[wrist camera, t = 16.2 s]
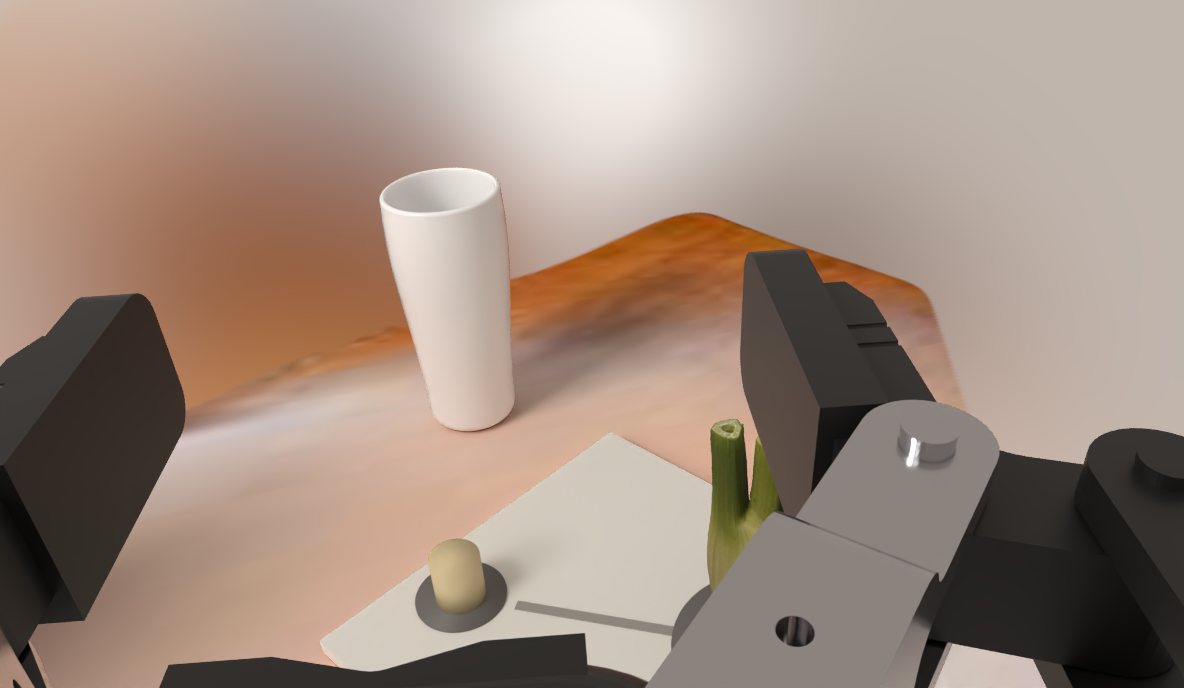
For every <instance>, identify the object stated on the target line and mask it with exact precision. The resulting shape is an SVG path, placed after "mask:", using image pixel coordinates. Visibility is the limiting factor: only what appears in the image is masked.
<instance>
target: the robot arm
mask: <svg viewBox="0 0 1184 688" xmlns="http://www.w3.org/2000/svg"><path fill="white" fill-rule="evenodd" d="M740 362H741V375H742V382H743V388H744V392H745V396H746V399H747V402H748V405H749V408H750V411H751V414H752V417H753V420H754V423H755V426H756V429H757V432H758V435H759V438H760V441H761V444H762V447H763V450H764V453H765V456H766V459H767V462H768V465H769V468H770V471H771V474H772V477H773V480H774V483H775V486H776V489H777V492H778V495H779V498H780V501H781V504H782V507H783V510H784V513H783V512H781V511H775V512H773V513H772V514H770V515H769V516H768V517H767V518H766V519H765V521H764V522H763V523H762V525H761V526H760V527H759V529H758V530H757V531H756V533H755V534H754V536H753V537H752V538H751V540H750V541H749V543H748V544H747V545H746V547H745V548H744V550H743V551H742V552H741V554H740V555H739V557H738V558H737V559H736V561H735V562H734V564H733V565H732V566H731V568H730V569H729V571H728V572H727V573H726V575H725V576H724V578H723V579H722V580H721V582H720V583H719V585H718V586H717V587H716V589H715V590H714V592H713V593H712V594H711V596H710V597H709V599H708V600H707V601H706V603H705V604H704V605H703V607H702V608H701V610H700V611H699V612H698V614H697V615H696V617H695V618H694V619H693V621H692V622H691V624H690V625H689V626H688V628H687V629H686V631H685V632H684V633H683V635H682V636H681V638H680V639H679V640H678V642H677V643H676V645H675V646H674V647H673V649H672V650H671V652H670V653H669V654H668V656H667V657H666V659H665V660H664V661H663V663H662V664H661V666H660V667H659V668H658V670H657V671H656V673H655V674H654V675H653V677H652V678H651V680H650V681H649V682H648V681H646V680H643V679H641V678H639V677H636V676H634V675H631V674H628V673H624V672H620V671H617V670H613V669H610V668H605V667H599V666H593V665H588V663H587V650H586V638H585V633H577V634H564V635H551V636H538V637H525V638H512V639H499V640H486V641H481V642H477V643H474V644H470V645H467V646H464V647H460V648H457V649H453V650H450V651H446V652H443V653H439V654H436V655H433V656H429V657H426V658H422V659H419V660H415V661H412V662H409V663H405V664H402V665H398V666H395V667H391V668H388V669H384V670H380V671H370V672H369V671H359V670H353V669H346V668H340V667H333V666H327V665H320V664H314V663H307V662H301V661H294V660H288V659H281V658H275V657H265V658H252V659H239V660H226V661H213V662H200V663H187V664H174V665H168V668H167V670H166V673H165V675H164V678H163V680H162V683H161V685H160V688H934V686H935V684H936V682H937V679H938V677H939V675H940V672H941V670H942V667H943V665H944V663H945V660H946V658H947V656H948V653H949V651H950V648H951V646H952V643H953V644H958V645H963V646H968V647H974V648H979V649H984V650H989V651H994V652H999V653H1005V654H1010V655H1015V656H1020V657H1025V658H1030V659H1033V660H1034V662H1035V664H1036V666H1037V668H1038V671H1039V673H1040V675H1041V677H1042V679H1043V681H1044V683H1045V685H1046V687H1047V688H1184V437H1183V436H1179V435H1176V434H1173V433H1169V432H1164V431H1159V430H1151V429H1142V428H1129V429H1119V430H1115V431H1111V432H1108V433H1105V434H1103V435H1101V436H1099V437H1098V438H1097V439H1095V440H1094V441H1093V442H1092V444H1091V445H1090V446H1089V449H1088V452H1087V455H1086V458H1085V461H1084V464H1083V465H1082V464H1076V463H1069V462H1061V461H1054V460H1046V459H1040V458H1032V457H1026V456H1021V455H1015V454H1011V453H1007V452H1004V451H1000V450H999V445H998V443H997V440H996V438H995V436H994V435H993V433H992V432H991V431H990V430H989V429H988V427H987V426H986V425H984V424H983V423H982V422H981V421H979V420H978V419H977V418H975V417H973V416H972V415H970V414H968V413H966V412H964V411H962V410H960V409H958V408H955V407H952V406H949V405H946V404H942V403H938V402H936V400H935V399H934V397H933V395H932V394H931V392H930V391H929V389H928V387H927V386H926V384H925V383H924V381H923V380H922V378H921V376H920V375H919V373H918V372H917V370H916V368H915V367H914V365H913V364H912V362H911V360H910V359H909V357H908V356H907V354H906V352H905V351H904V349H903V348H902V346H901V345H900V346H899V345H898V340H897V338H896V336H895V335H894V333H893V332H892V330H891V328H890V327H887V322H886V320H885V319H884V317H883V316H882V314H881V313H880V311H879V309H878V308H877V306H876V305H875V303H874V301H873V300H872V299H870V298H869V297H867V296H866V295H864V294H863V293H861V292H860V291H858V290H857V289H855V288H854V287H852V286H851V285H849V284H848V283H846V282H832V283H823V282H822V280H821V278H820V276H819V274H818V273H817V271H816V269H815V267H814V265H813V263H812V262H811V260H810V258H809V256H808V254H807V253H806V251H805V250H804V249H789V250H774V251H760V252H749V253H748V254H747V256H746V259H745V265H744V281H743V302H742V324H741V346H740ZM184 423H185V399H184V394H183V390H182V387H181V384H180V381H179V378H178V375H177V373H176V370H175V367H174V365H173V361H172V359H171V356H170V353H169V350H168V348H167V345H166V342H165V339H164V336H163V334H162V331H161V328H160V326H159V323H158V320H157V317H156V314H155V312H154V310H153V307H152V305H151V303H150V302H149V301H148V299H147V298H146V297H145V296H143V295H141V294H138V293H136V294H124V295H123V294H122V295H109V296H94V297H82V298H79V299H77V300H76V301H75V302H74V303H73V304H72V305H71V306H70V307H69V309H68V310H67V311H66V312H65V313H64V315H63V316H62V317H61V318H60V319H59V320H58V322H57V323H56V324H55V325H54V326H53V328H52V329H51V330H50V331H49V332H48V334H47V335H46V336H42V337H40V338H39V339H37V340H36V341H34V342H33V343H31V344H30V345H28V346H27V347H25V348H23V349H22V350H20V351H19V352H18V353H16V354H15V355H13V356H11V357H10V358H8V359H7V360H6V361H5V362H4V363H3V364H2V365H1V366H0V688H52V687H51V684H50V682H49V679H48V677H47V674H46V672H45V669H44V667H43V665H42V662H41V660H40V657H39V656H38V654H37V652H36V650H35V649H34V647H33V645H32V643H31V642H30V640H29V639H30V637H31V636H32V634H33V632H34V630H35V629H36V627H37V625H38V624H45V623H59V622H72V621H84V620H85V618H86V616H87V614H88V613H89V611H90V609H91V607H92V605H93V603H94V601H95V599H96V597H97V595H98V593H99V591H100V590H101V588H102V586H103V584H104V582H105V580H106V578H107V576H108V574H109V572H110V570H111V568H112V567H113V565H114V563H115V561H116V559H117V557H118V555H119V553H120V551H121V549H122V547H123V545H124V544H125V542H126V540H127V538H128V536H129V534H130V532H131V530H132V528H133V526H134V524H135V522H136V521H137V519H138V517H139V515H140V513H141V511H142V509H143V507H144V505H145V503H146V501H147V499H148V498H149V496H150V494H151V492H152V490H153V488H154V486H155V484H156V482H157V480H158V478H159V476H160V475H161V473H162V471H163V469H164V467H165V465H166V463H167V461H168V459H169V457H170V455H171V453H172V452H173V450H174V448H175V446H176V444H177V442H178V440H179V438H180V436H181V434H182V431H183V428H184Z"/></svg>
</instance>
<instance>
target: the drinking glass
mask: <svg viewBox="0 0 1184 688" xmlns="http://www.w3.org/2000/svg"><path fill="white" fill-rule="evenodd" d="M380 206H381V213H382V220H383V228H384V234H385V239H386V244H387V250H388V254H389V259H390V263H391V267H392V271H393V275H394V278H395V282H396V285H397V289H398V292H399V295H400V299H401V302H402V306H403V309H404V312H405V316H406V319H407V322H408V326H409V329H410V333H411V336H412V339H413V343H414V346H415V350H416V353H417V357H418V360H419V363H420V367H421V370H422V374H423V378H424V381H425V385H426V388H427V393H428V398H429V404H430V409H431V412H432V414H433V416H434V418H435V419H436V420H437V421H438V422H439V423H440V424H442V425H443V426H445V427H447V428H450V429H453V430H458V431H476V430H482V429H485V428H488V427H491V426H493V425H495V424H497V423H499V422H501V421H502V420H503V419H504V418H506V417H507V416H508V414H509V413H510V412H511V410H512V408H513V406H514V402H515V391H514V383H513V373H512V344H511V304H510V265H509V264H510V262H509V245H508V235H507V226H506V218H505V212H504V205H503V200H502V194H501V188H500V184H499V181H498V180H497V179H496V178H495V177H494V176H493V175H491V174H488V173H486V172H484V171H480V170H476V169H469V168H441V169H433V170H427V171H422V172H418V173H414V174H411V175H408V176H405V177H403V178H400V179H398V180H397V181H394V182H393V183H391V184H390V185H388V186H387V187H386V188H385V189H384V190H383V192H382V193H381V196H380Z"/></svg>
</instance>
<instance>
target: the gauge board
mask: <svg viewBox="0 0 1184 688" xmlns="http://www.w3.org/2000/svg"><path fill="white" fill-rule="evenodd" d="M711 504H712V484H710V483H708V482H706V481H704V480H702V479H700V478H698V477H696V476H694V475H692V474H690V473H688V472H687V471H685V470H683V469H681V468H679V467H677V466H675V465H673V464H671V463H669V462H667V461H665V460H664V459H662V458H660V457H658V456H656V455H654V454H652V453H650V452H648V451H646V450H644V449H642V448H640V447H639V446H637V445H635V444H633V443H631V442H629V441H627V440H625V439H623V438H621V437H619V436H617V435H615V434H614V433H612V432H609V433H608V434H607V435H605V436H604V437H602V438H601V439H600V440H598V441H597V442H595V443H594V444H593V445H591V446H590V447H589V448H587V449H586V450H584V451H583V452H582V453H580V454H579V455H577V456H576V457H575V458H573V459H572V460H570V461H569V462H568V463H566V464H565V465H563V466H562V467H561V468H559V469H558V470H556V471H555V472H554V473H552V474H551V475H550V476H548V477H547V478H545V479H544V480H543V481H541V482H540V483H538V484H537V485H536V486H534V487H533V488H531V489H530V490H529V491H527V492H526V493H524V494H523V495H522V496H520V497H519V498H517V499H516V500H515V501H513V502H512V503H511V504H509V505H508V506H506V507H505V508H504V509H502V510H501V511H499V512H498V513H497V514H495V515H494V516H492V517H491V518H490V519H488V520H487V521H485V522H484V523H483V524H481V525H480V526H478V527H477V528H476V529H474V530H473V531H472V532H470V533H469V534H467V535H466V536H465V537H463V538H462V539H451V540H447V541H445V542H442V543H441V544H439V545H437V546H436V547H435V548H434V549H433V550H432V551H431V553H430V555H429V558H428V563H427V564H426V565H424V566H423V567H421V568H420V569H419V570H417V571H416V572H414V573H413V574H412V575H410V576H409V577H407V578H406V579H405V580H403V581H402V582H400V583H399V584H398V585H396V586H395V587H394V588H392V589H391V590H389V591H388V592H387V593H385V594H384V595H382V596H381V597H380V598H378V599H377V600H375V601H374V602H373V603H371V604H370V605H368V606H367V607H366V608H364V609H363V610H361V611H360V612H359V613H357V614H356V615H354V616H353V617H352V618H350V619H349V620H348V621H346V622H345V623H343V624H342V625H341V626H339V627H338V628H336V629H335V630H334V631H332V632H331V633H329V634H328V635H327V636H325V637H324V638H322V639H321V640H320V644H321V647H322V650H323V653H325V654H326V655H327V656H328V657H329V658H330V659H331V660H332V661H333V662H334V663H335V664H336V665H337V666H338V667H340V668H346V669H353V670H359V671H369V672H370V671H380V670H384V669H388V668H391V667H395V666H398V665H402V664H405V663H409V662H412V661H415V660H419V659H422V658H426V657H429V656H433V655H436V654H439V653H443V652H446V651H450V650H453V649H457V648H460V647H464V646H467V645H470V644H474V643H477V642H481V641H486V640H499V639H512V638H525V637H538V636H551V635H564V634H577V633H585V638H586V650H587V663H588V665H593V666H599V667H605V668H610V669H613V670H617V671H620V672H624V673H628V674H631V675H634V676H636V677H639V678H641V679H643V680H646V681H648V682H649V681H650V680H651V678H652V677H653V675H654V674H655V673H656V671H657V670H658V668H659V667H660V666H661V664H662V663H663V661H664V660H665V659H666V657H667V656H668V654H669V653H670V652H671V650H672V649H673V647H674V646H675V645H676V643H677V642H678V640H679V639H680V638H681V636H682V635H683V633H684V632H685V631H686V629H687V628H688V626H689V625H690V624H691V622H692V621H693V619H694V618H695V617H696V615H697V614H698V612H699V611H700V610H701V608H702V607H703V605H704V604H705V603H706V601H707V600H708V599H709V597H710V596H711V594H712V590H711V587H710V581H709V574H708V568H707V542H708V531H709V523H710V515H711Z"/></svg>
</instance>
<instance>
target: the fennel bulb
mask: <svg viewBox="0 0 1184 688" xmlns="http://www.w3.org/2000/svg"><path fill="white" fill-rule="evenodd" d="M743 425H744V424H741V423H740V422H739V421H738V420H737V419H736V420H735V419H729V420H726V421H720V422H718V423H715V425H713V427H712V428H711V438H710V440H711V452H712V504H711V515H710V523H709V531H708V542H707V568H708V574H709V581H710V587H711V590H712V593H713V592H714V590H715V589H716V587H717V586H718V585H719V583H720V582H721V580H722V579H723V578H724V576H725V575H726V573H727V572H728V571H729V569H730V568H731V566H732V565H733V564H734V562H735V561H736V559H737V558H738V557H739V555H740V554H741V552H742V551H743V550H744V548H745V547H746V545H747V544H748V543H749V541H750V540H751V538H752V537H753V536H754V534H755V533H756V531H757V530H758V529H759V527H760V526H761V525H762V523H763V522H764V521H765V519H766V518H767V517H768V516H769V515H770V514H772V513H773V512H775V511H781V512H783V513H784V510H783V507H782V504H781V501H780V498H779V495H778V492H777V489H776V486H775V483H774V480H773V477H772V474H771V471H770V468H769V465H768V462H767V459H766V456H765V453H764V450H763V447H762V444H761V441H760V438H759V436H758V437H757V439H756V445H755V455H754V466H753V480H752V487H751V493H750V500H749V495H748V478H747V460H746V450H745V442H744V427H743Z"/></svg>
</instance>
